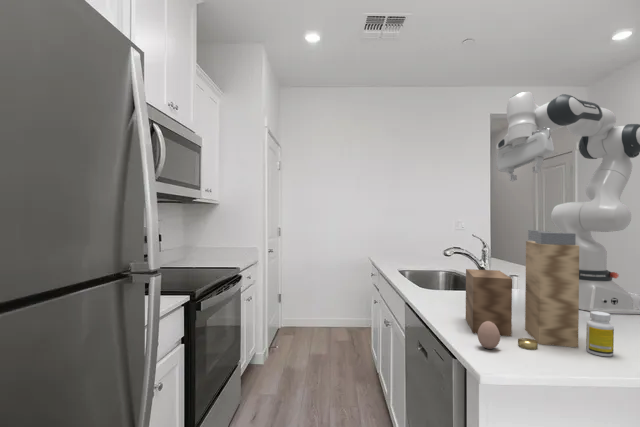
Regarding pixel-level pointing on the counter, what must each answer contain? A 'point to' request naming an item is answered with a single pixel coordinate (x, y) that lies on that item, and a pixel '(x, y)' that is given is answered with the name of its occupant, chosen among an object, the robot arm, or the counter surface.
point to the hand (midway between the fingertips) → (524, 176)
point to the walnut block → (489, 300)
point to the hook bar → (551, 237)
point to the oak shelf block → (552, 293)
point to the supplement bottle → (600, 334)
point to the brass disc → (527, 343)
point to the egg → (488, 335)
